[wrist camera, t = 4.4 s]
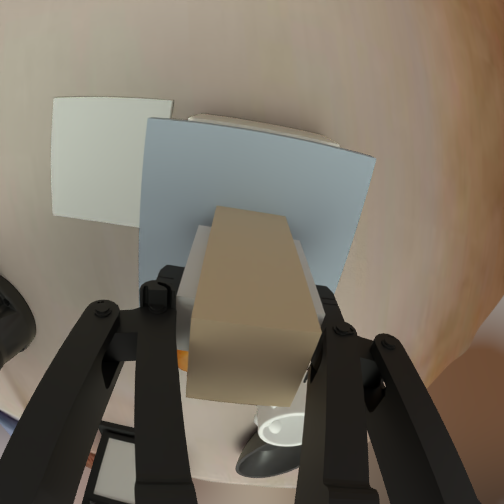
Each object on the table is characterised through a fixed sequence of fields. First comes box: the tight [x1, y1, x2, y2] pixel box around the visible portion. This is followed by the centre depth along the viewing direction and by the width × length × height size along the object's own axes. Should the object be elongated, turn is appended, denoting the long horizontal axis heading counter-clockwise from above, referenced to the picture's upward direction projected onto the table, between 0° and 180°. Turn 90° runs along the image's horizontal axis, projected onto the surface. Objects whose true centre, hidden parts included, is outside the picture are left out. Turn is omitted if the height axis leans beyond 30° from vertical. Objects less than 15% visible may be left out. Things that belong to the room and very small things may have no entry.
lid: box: [139, 117, 376, 407], centre depth 15 cm, size 13×13×11 cm
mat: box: [51, 97, 173, 228], centre depth 31 cm, size 14×14×1 cm
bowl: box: [236, 431, 302, 478], centre depth 51 cm, size 12×22×6 cm, turn 147°
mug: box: [254, 370, 308, 446], centre depth 42 cm, size 12×10×9 cm
